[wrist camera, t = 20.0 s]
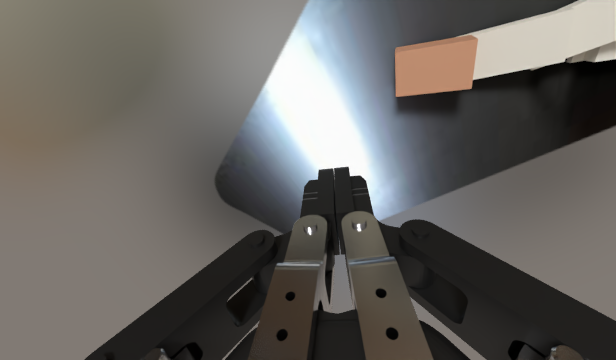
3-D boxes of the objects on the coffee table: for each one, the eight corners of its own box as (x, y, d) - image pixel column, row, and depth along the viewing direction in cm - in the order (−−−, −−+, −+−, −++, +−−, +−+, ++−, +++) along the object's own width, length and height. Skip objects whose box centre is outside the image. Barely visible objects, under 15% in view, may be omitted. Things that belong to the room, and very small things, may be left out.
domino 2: (456, 36, 31) (567, 7, 27) (456, 79, 33) (558, 58, 29) (457, 38, 30) (574, 8, 25) (458, 82, 32) (564, 61, 28)
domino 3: (520, 26, 30) (654, -33, 24) (527, 67, 32) (653, 21, 26) (524, 27, 29) (665, -34, 23) (531, 70, 30) (664, 23, 25)
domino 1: (395, 47, 32) (471, 34, 29) (396, 88, 34) (465, 80, 32) (395, 52, 29) (478, 38, 26) (395, 96, 32) (471, 88, 29)
